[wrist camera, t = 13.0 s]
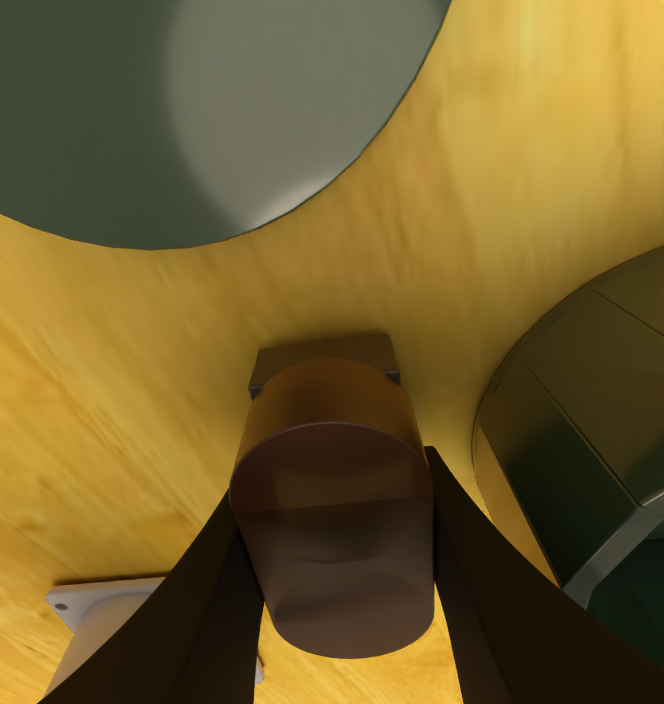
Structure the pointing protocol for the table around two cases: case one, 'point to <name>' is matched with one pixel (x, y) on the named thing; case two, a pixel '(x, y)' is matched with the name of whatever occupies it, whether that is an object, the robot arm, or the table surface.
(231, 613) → the robot arm
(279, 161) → the lid
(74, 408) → the table surface
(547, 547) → the pot
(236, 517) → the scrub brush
